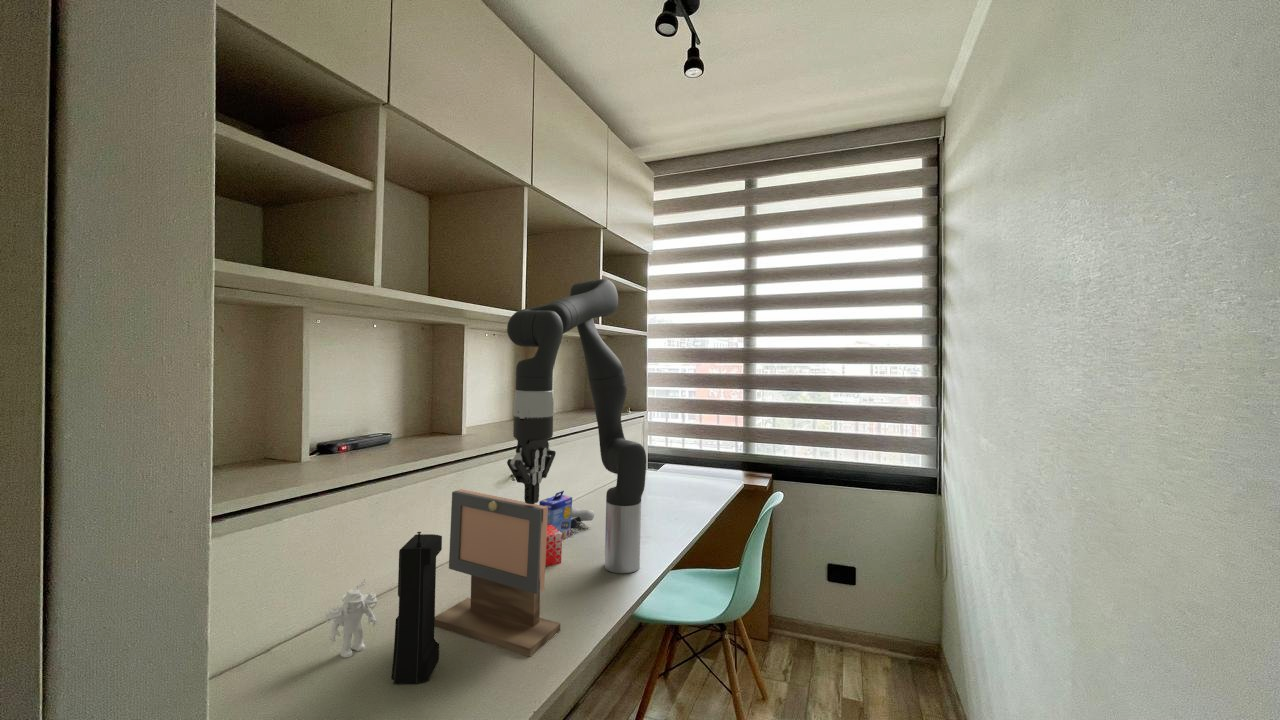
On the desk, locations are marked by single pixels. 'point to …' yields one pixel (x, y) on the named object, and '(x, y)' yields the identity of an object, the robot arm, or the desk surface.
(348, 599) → the hat wearing toy figure
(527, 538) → the picture frame
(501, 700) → the desk surface
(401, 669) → the portable radio
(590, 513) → the clip-on lamp
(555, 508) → the ink cartridge box
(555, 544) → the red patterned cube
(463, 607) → the frame stand
